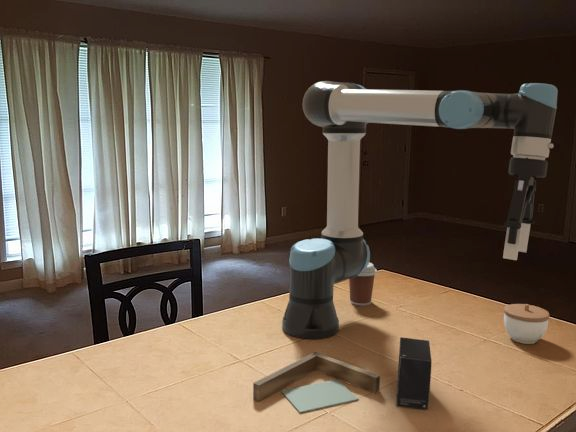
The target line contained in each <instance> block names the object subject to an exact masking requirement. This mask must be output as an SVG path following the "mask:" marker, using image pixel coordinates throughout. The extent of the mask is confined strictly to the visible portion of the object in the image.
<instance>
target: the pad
mask: <svg viewBox="0 0 576 432" xmlns="http://www.w3.org/2000/svg"><path fill="white" fill-rule="evenodd" d="M280 391H281V393H282V394H283V396H284V397H285V398H286V399H287V400H288V401H289V403H290V404H291V405H292V406H293V407H294V409H295V410H296V411H297V412H298V413H299V414H302V413H307V412H311V411H316V410H321V409H325V408H330V407H333V406H334V407H335V406H338V405H342V404H348V403H351V402H356V401H359V397H357V396H356V395H355V394H354V393H353V392H352V391H351V390H349V389H348V388H347V387H346V386H345V385H344V384H343V383H342V382H340V380H339V379H337V378H334V379H330V380H327V381H321V382H316V383H310V384H306V385H301V386H297V387H292V388H287V389H286V388H285V389H281V390H280Z"/></svg>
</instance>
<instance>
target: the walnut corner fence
mask: <svg viewBox="0 0 576 432" xmlns="http://www.w3.org/2000/svg"><path fill="white" fill-rule="evenodd" d="M314 372H318V373H322V374H325V375H327V376H328V377H332V378H334V379H337V380H338V381H342V382H344V383H347V384H349V385H352V386H354V387H358V388H359V389H362V390H365V391H367V392H369V393H372V394H378V393H379V392H380V389H381V387H380V385H381V383H380V382H381V375H380V374H377V373H375V372H372V371H369V370H366V369H363V368H361V367H359V366H355V365H353V364H349V363H347V362H345V361H342V360H339V359H336V358H333V357H331V356H328V355H326V354H322V353H319V352H317V351H315V352H312V353H310V354H308V355H306V356H304V357H302V358H300V359H298V360H296V361H295V362H292V363H290V364H288V365H287V366H284V367H283V368H281V369H278V370H276V371H274V372H272V373H271V374H269V375H266V376H264V377H262V378H260V379H258V380H256V381H255V382H253V385H252V387H253V389H252V391H253V393H252V394H253V395H252V396H253V400H254V401H256V402H261V401H263V400H264V399H266V398H269V397H270V396H272V395H274V394H276V393H278V392H279V391H281V390H284V389H286V387H288V386H290V385H292V384H294V383H296V382H298V381H299V380H302V379H303V378H305V377H307V376H308V375H310V374H313V373H314Z"/></svg>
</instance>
